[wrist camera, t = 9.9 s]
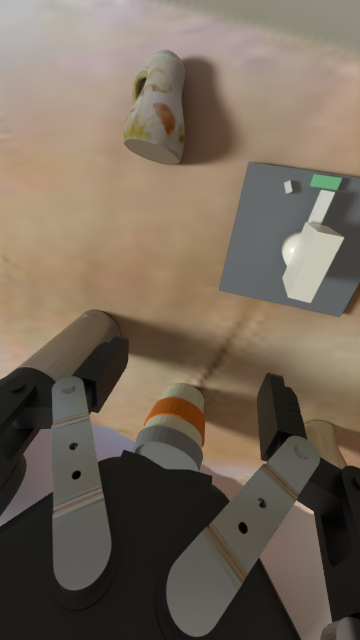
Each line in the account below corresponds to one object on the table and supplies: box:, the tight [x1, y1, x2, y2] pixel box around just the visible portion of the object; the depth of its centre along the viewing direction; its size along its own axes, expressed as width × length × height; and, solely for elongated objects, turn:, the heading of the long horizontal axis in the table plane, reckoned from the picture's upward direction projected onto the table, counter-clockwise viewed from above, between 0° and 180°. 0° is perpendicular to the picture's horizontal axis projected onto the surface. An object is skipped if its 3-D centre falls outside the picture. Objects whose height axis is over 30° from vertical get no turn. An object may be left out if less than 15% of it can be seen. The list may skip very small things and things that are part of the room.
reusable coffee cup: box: [133, 383, 205, 472], centre depth 48 cm, size 13×12×15 cm
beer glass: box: [304, 420, 348, 469], centre depth 43 cm, size 7×7×15 cm
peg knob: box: [281, 190, 344, 303], centre depth 27 cm, size 10×4×9 cm, turn 172°
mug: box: [124, 50, 186, 165], centre depth 28 cm, size 8×10×10 cm
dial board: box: [219, 162, 360, 317], centre depth 32 cm, size 17×18×2 cm
